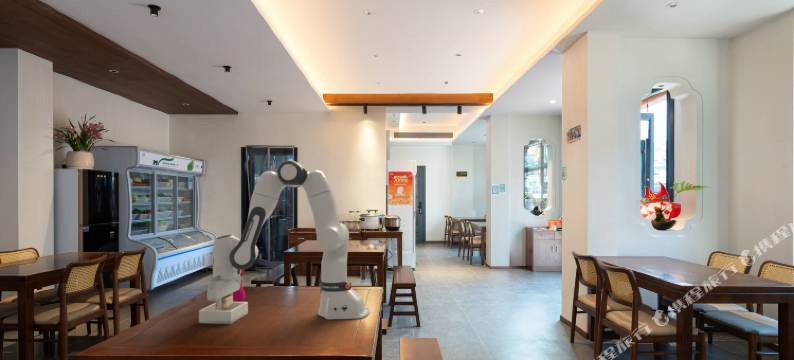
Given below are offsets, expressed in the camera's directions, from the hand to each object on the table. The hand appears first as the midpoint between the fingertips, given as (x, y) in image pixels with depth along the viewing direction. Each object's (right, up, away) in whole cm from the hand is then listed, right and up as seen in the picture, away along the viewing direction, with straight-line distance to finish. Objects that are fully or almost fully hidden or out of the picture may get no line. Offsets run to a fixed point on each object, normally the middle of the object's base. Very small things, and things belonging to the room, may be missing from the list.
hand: (224, 306), depth 173 cm
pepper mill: (-2, -6, +18) cm, 19 cm away
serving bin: (0, -5, 0) cm, 5 cm away
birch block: (0, -2, 0) cm, 2 cm away
